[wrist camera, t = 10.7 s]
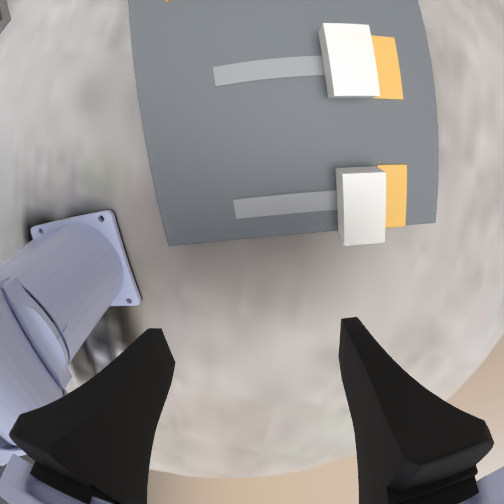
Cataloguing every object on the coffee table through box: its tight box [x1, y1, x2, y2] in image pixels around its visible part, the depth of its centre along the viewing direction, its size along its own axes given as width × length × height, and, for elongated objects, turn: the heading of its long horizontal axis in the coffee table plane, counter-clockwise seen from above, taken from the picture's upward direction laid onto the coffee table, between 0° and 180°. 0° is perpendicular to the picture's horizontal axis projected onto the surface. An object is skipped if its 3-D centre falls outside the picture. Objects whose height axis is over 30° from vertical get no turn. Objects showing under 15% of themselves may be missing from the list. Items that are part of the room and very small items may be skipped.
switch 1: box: [318, 23, 380, 98], centre depth 12 cm, size 2×4×2 cm, turn 8°
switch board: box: [128, 0, 438, 246], centre depth 14 cm, size 18×20×1 cm
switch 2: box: [336, 166, 386, 246], centre depth 15 cm, size 2×4×2 cm, turn 8°
